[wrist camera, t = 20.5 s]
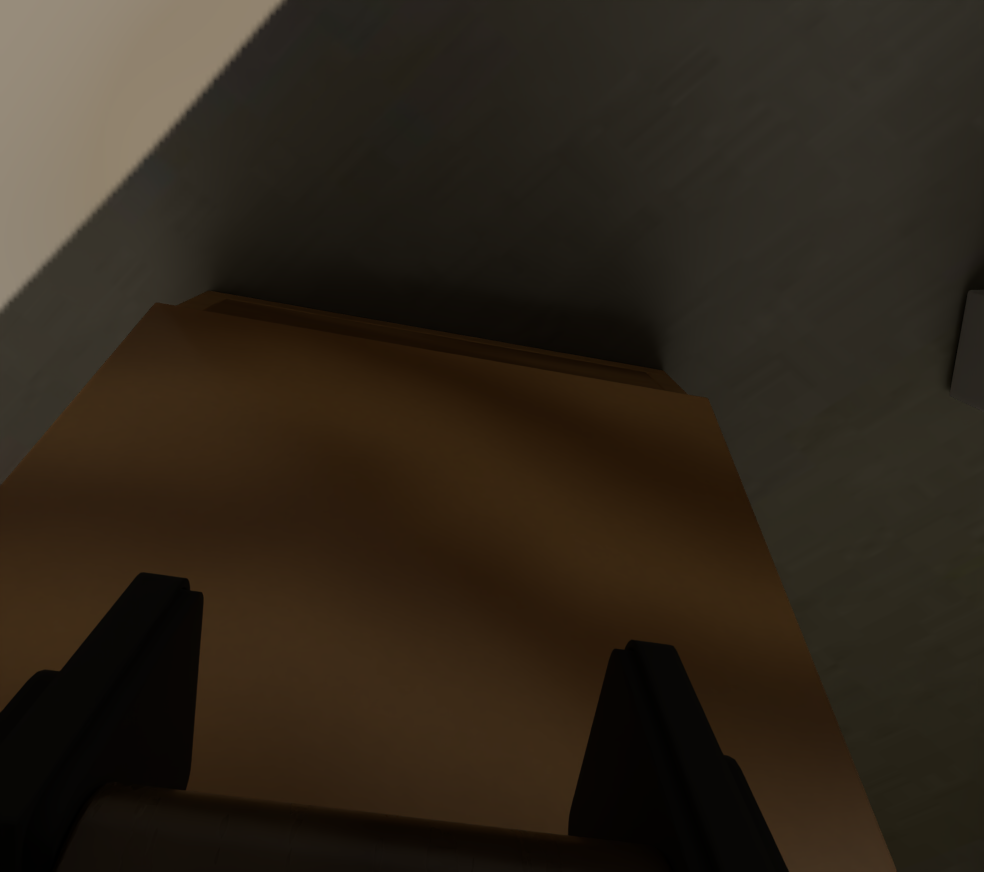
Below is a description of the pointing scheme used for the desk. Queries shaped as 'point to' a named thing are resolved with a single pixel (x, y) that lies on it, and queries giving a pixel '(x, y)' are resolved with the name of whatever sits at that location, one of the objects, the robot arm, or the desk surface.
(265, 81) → the desk surface
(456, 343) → the chest
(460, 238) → the desk surface
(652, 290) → the desk surface
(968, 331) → the vintage mobile phone
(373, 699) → the lid
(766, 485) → the desk surface
